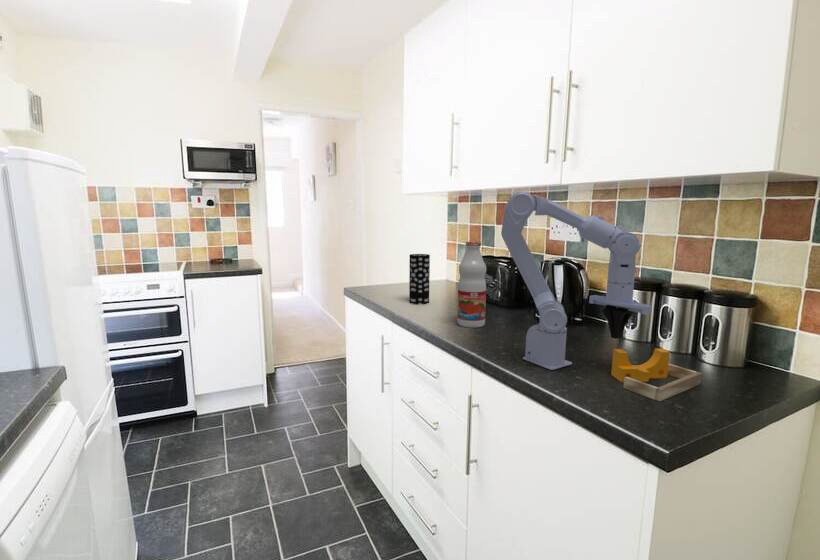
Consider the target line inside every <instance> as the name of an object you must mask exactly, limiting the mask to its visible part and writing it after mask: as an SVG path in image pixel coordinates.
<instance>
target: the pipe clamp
mask: <svg viewBox="0 0 820 560" xmlns="http://www.w3.org/2000/svg"><path fill="white" fill-rule="evenodd" d="M670 355H671V354H670V351H669V350H667V349H665V348H659V347H658V348H654V350H653V353H652V356H651V357H650V358H649V359H648V360H646V362H644V363H642V364H632V363H631V361H630V360H629V356H628V352H627V351H625V350H624V349H622V348H614V349H613V352H612V361H611V362H612V364H611V376H612V377H614V378H615V379H616V380H618V381H619V382H620V383H624V377H629V378H632V379H635V380H638V381H641V382H644V383H647V382H649V381H650V379H668V375H667V373H668V364H670Z"/></svg>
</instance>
